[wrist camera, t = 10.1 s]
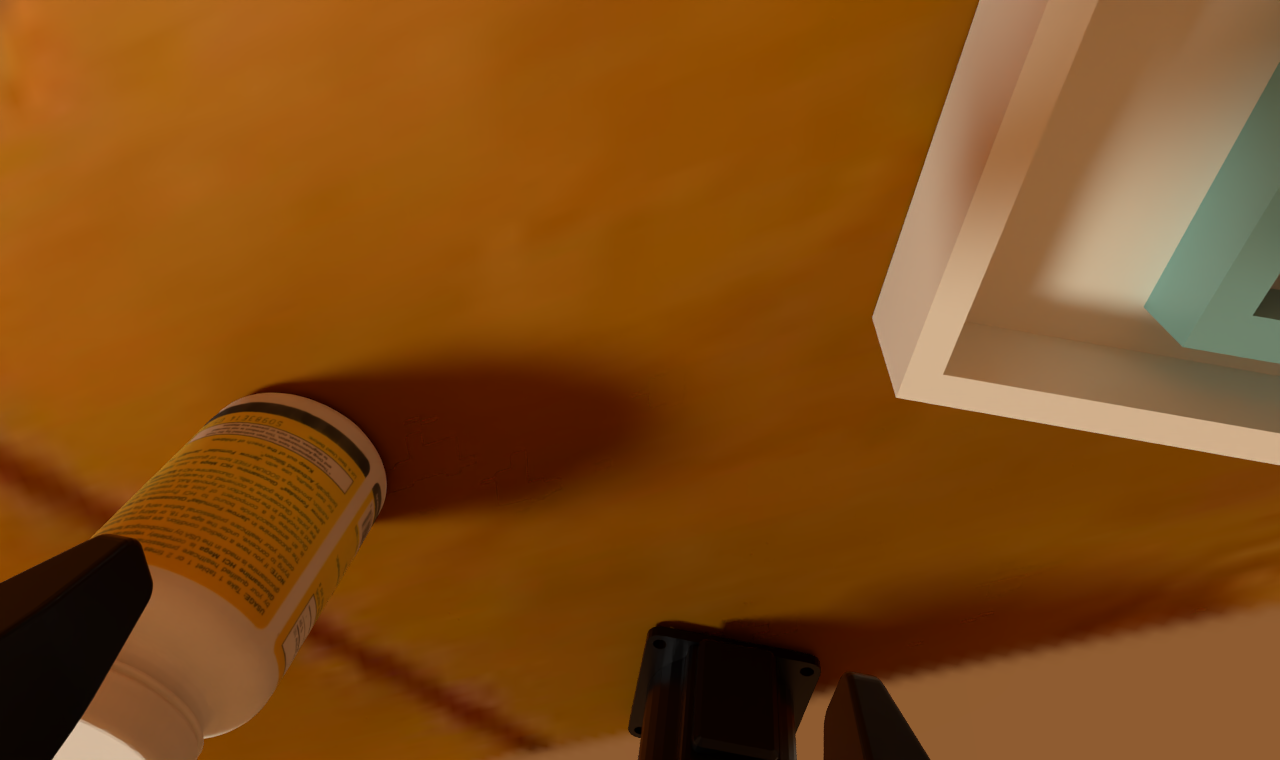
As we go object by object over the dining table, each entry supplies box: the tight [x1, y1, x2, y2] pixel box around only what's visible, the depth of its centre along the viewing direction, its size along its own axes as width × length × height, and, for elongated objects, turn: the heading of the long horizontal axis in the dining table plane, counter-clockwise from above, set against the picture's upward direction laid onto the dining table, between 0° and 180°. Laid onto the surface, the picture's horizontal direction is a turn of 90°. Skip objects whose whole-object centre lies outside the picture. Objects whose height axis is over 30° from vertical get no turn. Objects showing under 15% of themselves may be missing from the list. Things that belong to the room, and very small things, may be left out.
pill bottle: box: [52, 393, 387, 760], centre depth 22 cm, size 6×6×11 cm
